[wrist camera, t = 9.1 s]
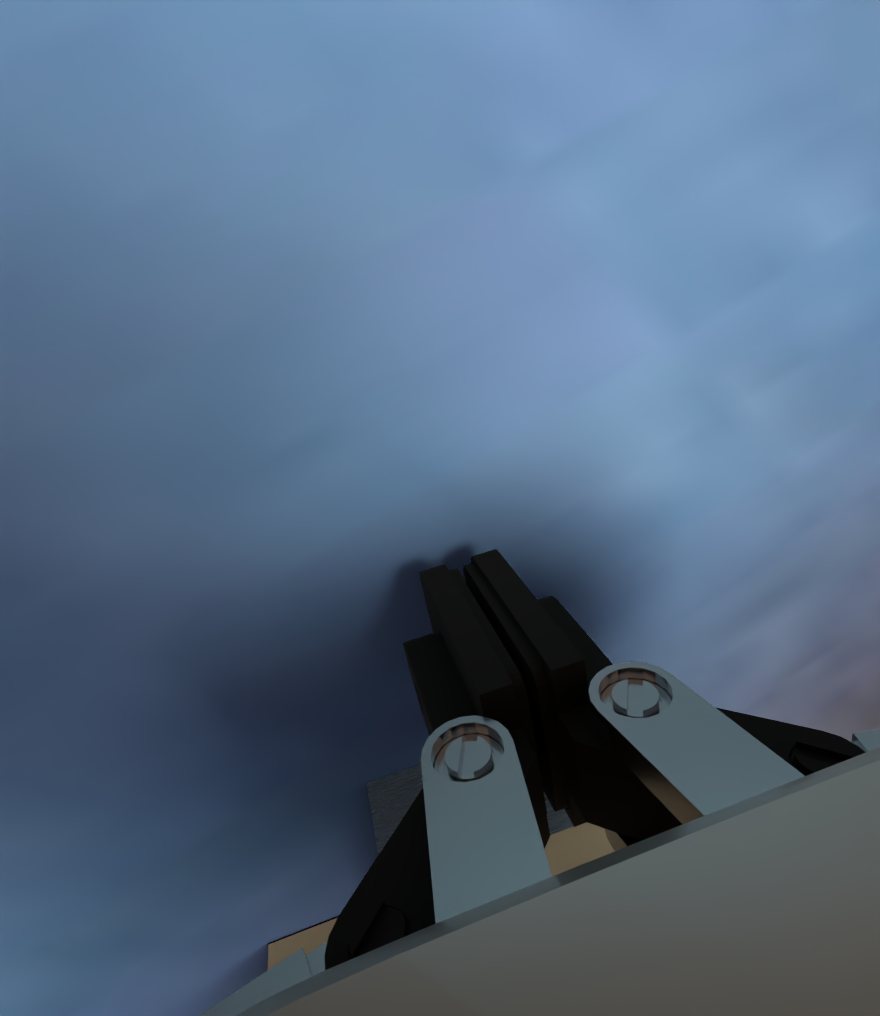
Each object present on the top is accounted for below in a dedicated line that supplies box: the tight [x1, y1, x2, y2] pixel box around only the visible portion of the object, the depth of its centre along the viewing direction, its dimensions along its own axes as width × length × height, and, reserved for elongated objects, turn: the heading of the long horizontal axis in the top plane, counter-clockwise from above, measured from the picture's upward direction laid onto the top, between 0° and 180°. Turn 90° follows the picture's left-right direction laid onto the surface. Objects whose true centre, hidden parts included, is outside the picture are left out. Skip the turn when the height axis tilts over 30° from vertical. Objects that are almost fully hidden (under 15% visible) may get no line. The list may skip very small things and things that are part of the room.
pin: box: [366, 764, 615, 876], centre depth 17 cm, size 18×6×3 cm, turn 12°
